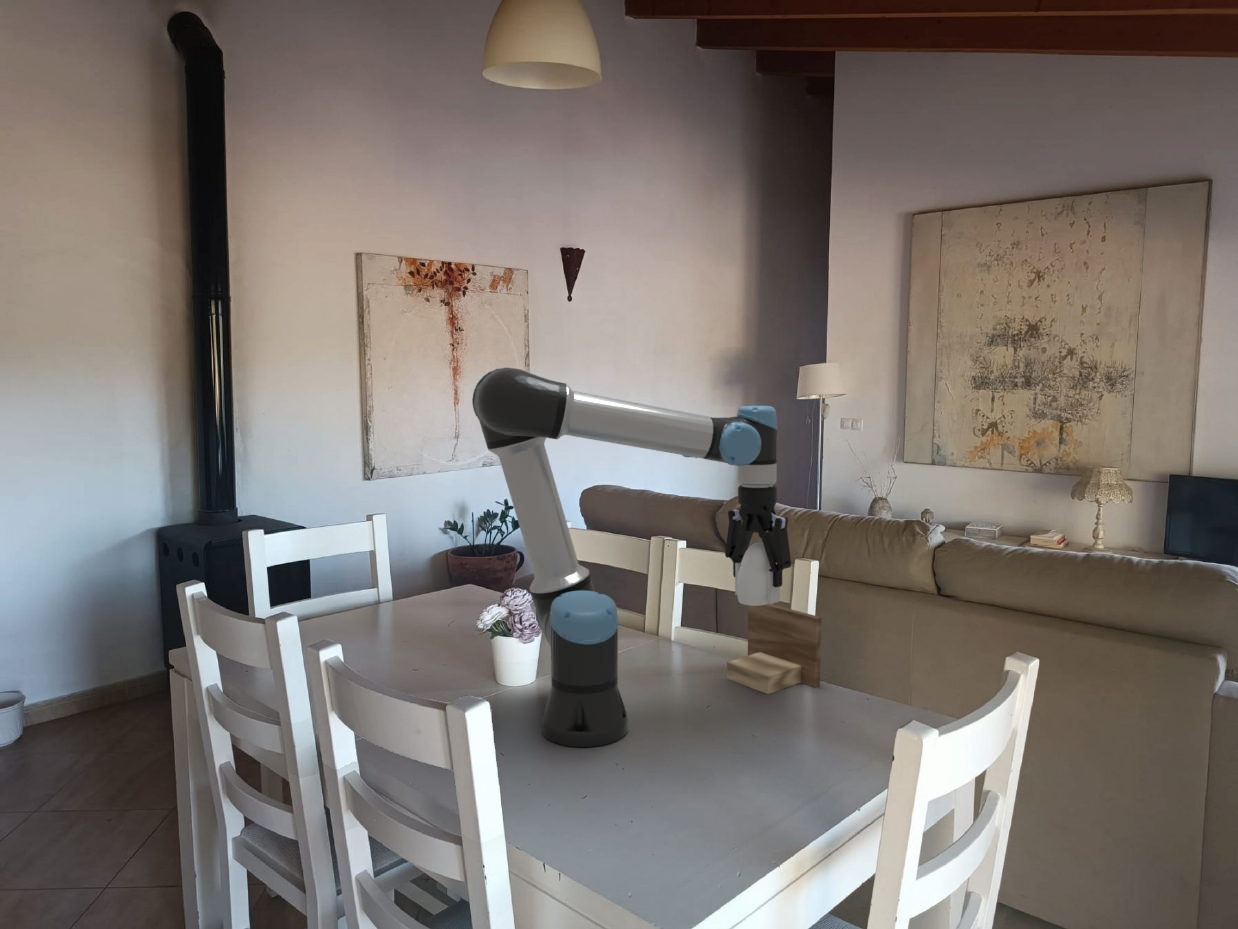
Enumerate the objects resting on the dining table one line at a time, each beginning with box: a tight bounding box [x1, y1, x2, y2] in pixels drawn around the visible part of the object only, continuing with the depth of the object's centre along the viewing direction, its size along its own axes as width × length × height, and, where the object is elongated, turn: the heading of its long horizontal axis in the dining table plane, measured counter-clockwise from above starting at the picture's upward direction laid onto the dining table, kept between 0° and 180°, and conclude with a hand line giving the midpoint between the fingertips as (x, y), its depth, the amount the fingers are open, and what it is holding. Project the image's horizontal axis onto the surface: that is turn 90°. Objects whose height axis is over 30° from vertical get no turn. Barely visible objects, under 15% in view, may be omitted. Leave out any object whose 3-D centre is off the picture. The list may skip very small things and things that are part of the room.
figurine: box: [736, 541, 771, 606], centre depth 171 cm, size 7×8×12 cm
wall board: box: [726, 603, 822, 695], centre depth 175 cm, size 12×18×14 cm, turn 39°
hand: (757, 598), depth 171 cm, fingers closed on figurine, 8 cm apart
